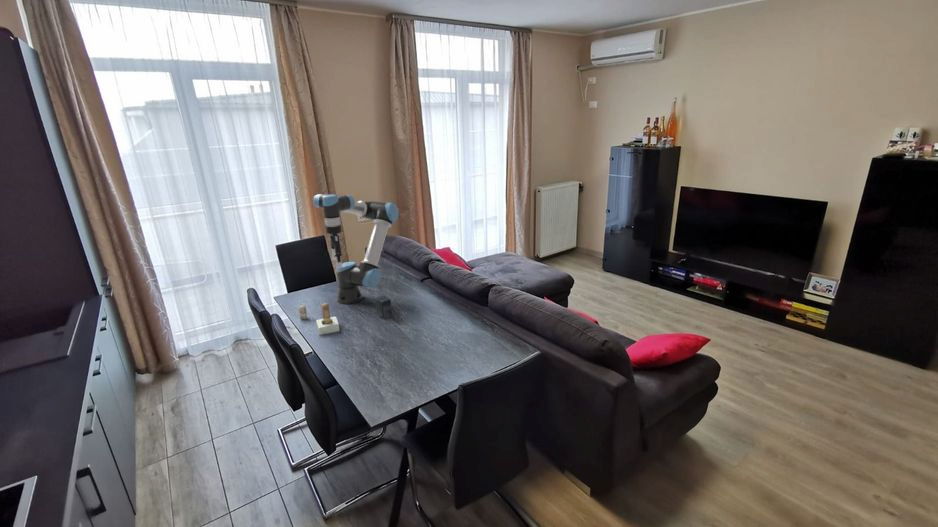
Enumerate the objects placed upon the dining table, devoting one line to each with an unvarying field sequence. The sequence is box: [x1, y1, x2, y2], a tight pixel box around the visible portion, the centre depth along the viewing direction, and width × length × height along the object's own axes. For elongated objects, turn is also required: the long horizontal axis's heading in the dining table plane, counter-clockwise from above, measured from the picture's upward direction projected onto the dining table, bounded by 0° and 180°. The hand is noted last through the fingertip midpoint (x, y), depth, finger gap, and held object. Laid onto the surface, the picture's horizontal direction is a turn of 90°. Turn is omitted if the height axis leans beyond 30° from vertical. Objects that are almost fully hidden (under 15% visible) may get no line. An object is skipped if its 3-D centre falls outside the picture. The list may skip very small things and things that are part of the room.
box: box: [374, 295, 393, 320], centre depth 229 cm, size 8×6×11 cm
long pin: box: [320, 302, 331, 325], centre depth 214 cm, size 4×4×14 cm
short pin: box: [298, 305, 308, 320], centre depth 227 cm, size 4×4×7 cm
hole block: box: [315, 316, 340, 336], centre depth 215 cm, size 10×10×4 cm
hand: (337, 264), depth 218 cm, fingers open, 13 cm apart
